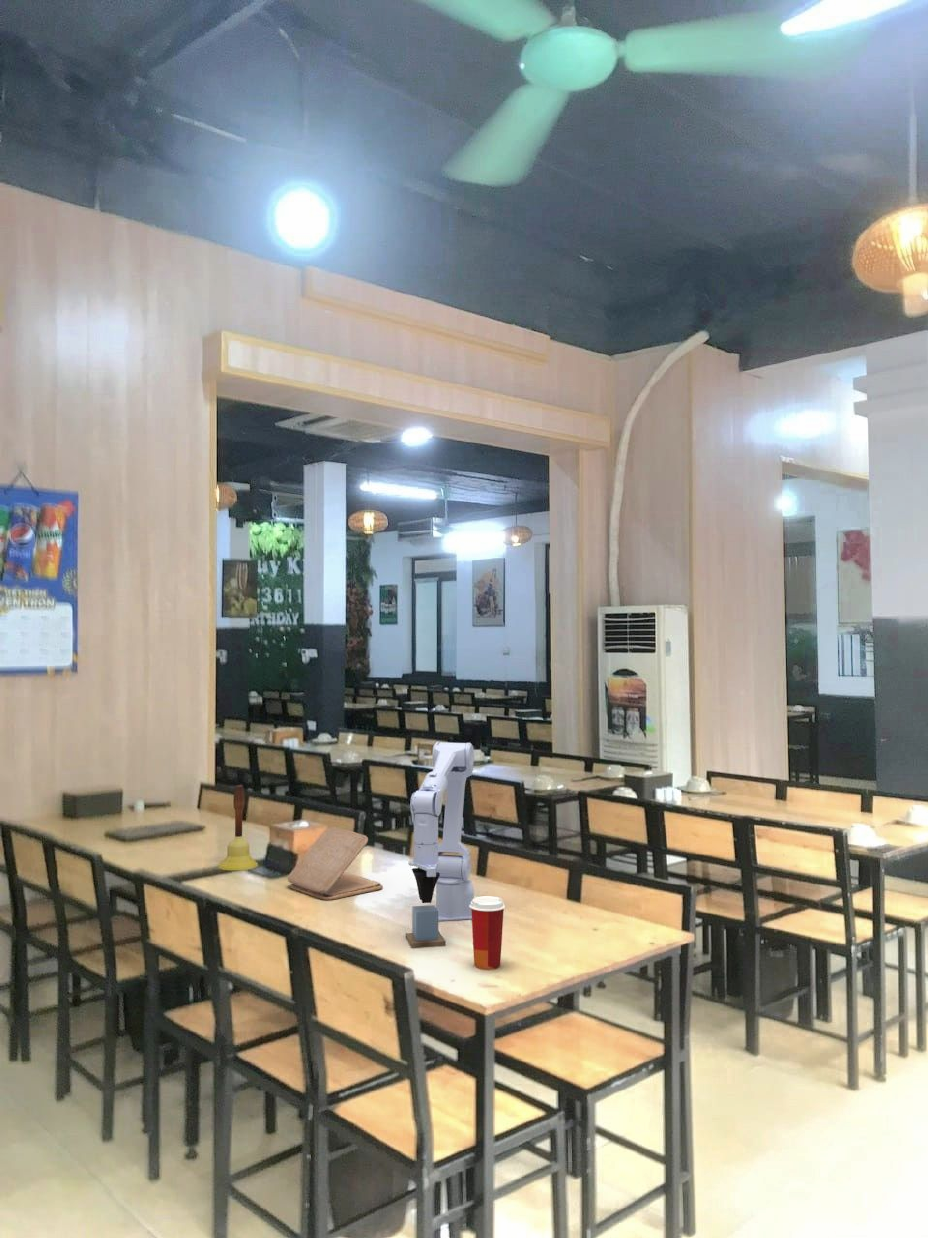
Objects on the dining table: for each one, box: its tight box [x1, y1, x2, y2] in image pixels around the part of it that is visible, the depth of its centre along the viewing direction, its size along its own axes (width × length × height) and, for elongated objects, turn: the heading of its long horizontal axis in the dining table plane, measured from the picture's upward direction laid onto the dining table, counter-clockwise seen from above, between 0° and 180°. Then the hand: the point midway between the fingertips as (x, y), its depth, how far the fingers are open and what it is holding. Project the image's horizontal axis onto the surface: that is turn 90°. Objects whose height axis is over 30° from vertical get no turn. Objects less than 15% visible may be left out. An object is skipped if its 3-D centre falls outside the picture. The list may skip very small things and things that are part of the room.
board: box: [405, 930, 447, 949], centre depth 224 cm, size 8×8×1 cm
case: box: [287, 826, 384, 901], centre depth 272 cm, size 20×21×16 cm
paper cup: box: [469, 895, 506, 971], centre depth 208 cm, size 8×8×14 cm
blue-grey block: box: [411, 904, 439, 941], centre depth 224 cm, size 5×5×7 cm
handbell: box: [217, 784, 259, 871], centre depth 300 cm, size 12×12×25 cm
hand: (425, 901), depth 224 cm, fingers closed
